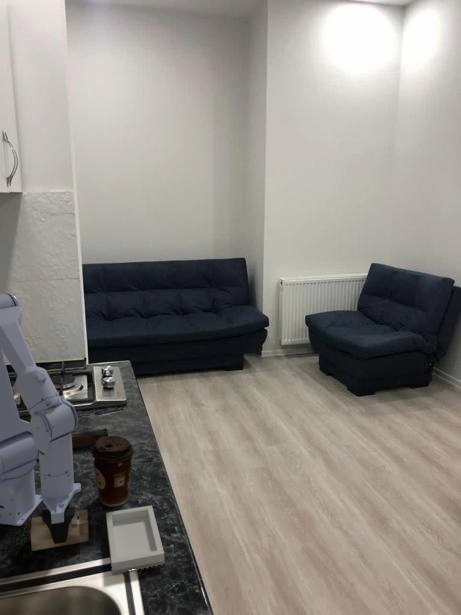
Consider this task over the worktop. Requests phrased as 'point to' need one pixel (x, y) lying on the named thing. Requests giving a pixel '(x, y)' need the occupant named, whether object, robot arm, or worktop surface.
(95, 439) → the hand tool
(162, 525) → the worktop surface
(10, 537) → the worktop surface
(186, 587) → the worktop surface
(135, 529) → the tray
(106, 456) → the coffee cup
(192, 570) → the worktop surface
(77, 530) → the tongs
